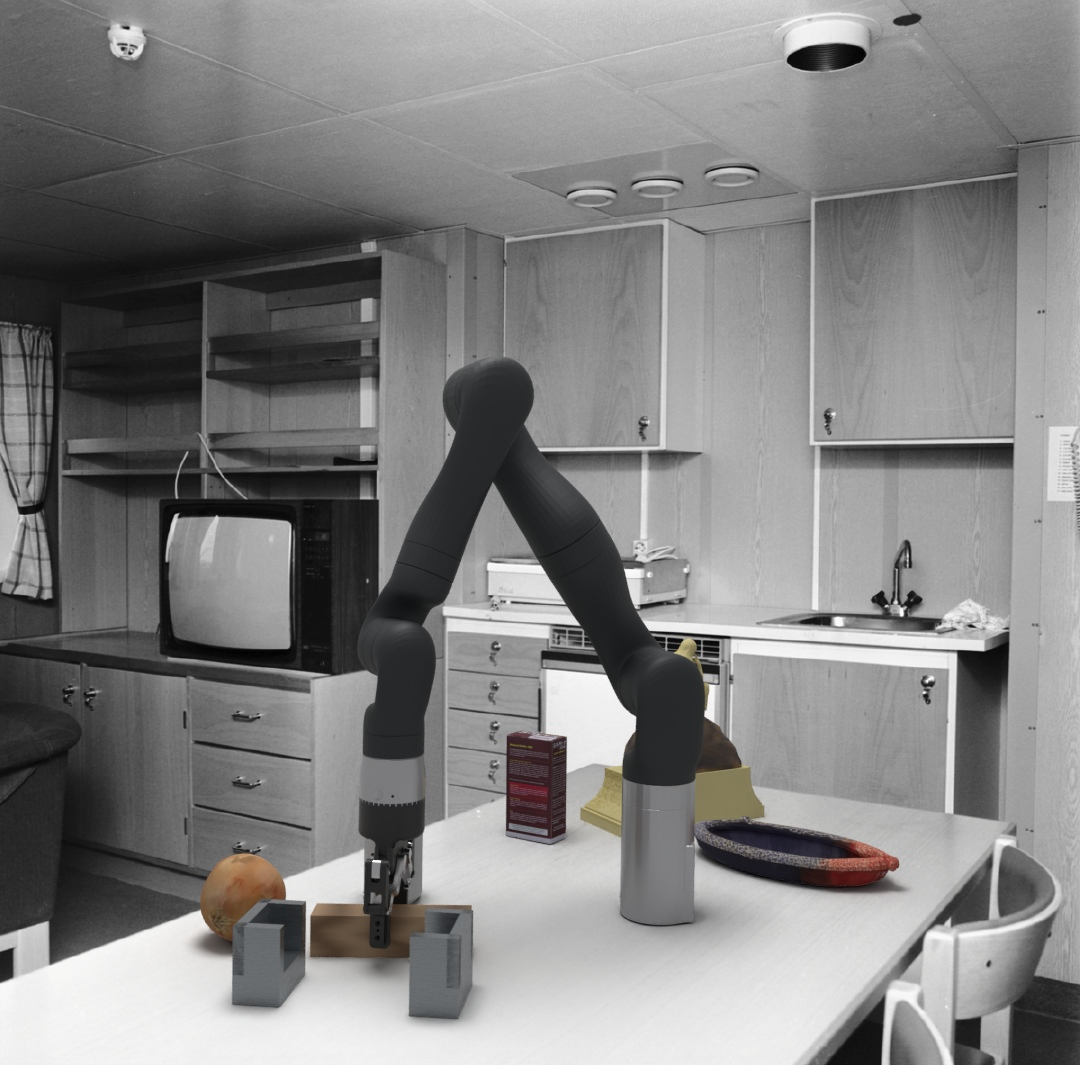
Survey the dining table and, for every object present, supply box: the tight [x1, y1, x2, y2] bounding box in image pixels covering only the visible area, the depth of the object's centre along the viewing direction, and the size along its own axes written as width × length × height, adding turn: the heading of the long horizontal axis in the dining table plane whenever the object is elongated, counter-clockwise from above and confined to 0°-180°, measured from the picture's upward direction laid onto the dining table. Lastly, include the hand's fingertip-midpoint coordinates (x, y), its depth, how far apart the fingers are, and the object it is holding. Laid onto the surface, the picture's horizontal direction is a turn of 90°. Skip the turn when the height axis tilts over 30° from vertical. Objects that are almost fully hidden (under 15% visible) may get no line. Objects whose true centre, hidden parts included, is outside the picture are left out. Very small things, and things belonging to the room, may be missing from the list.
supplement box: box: [505, 730, 568, 845], centre depth 179 cm, size 9×5×16 cm, turn 58°
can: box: [363, 833, 424, 904], centre depth 150 cm, size 8×8×12 cm
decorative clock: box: [579, 638, 765, 838], centre depth 191 cm, size 28×13×30 cm, turn 120°
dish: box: [694, 816, 900, 888], centre depth 165 cm, size 16×31×5 cm, turn 51°
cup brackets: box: [231, 899, 474, 1020], centre depth 121 cm, size 23×8×8 cm, turn 84°
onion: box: [199, 853, 287, 942], centre depth 136 cm, size 10×10×10 cm
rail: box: [309, 902, 473, 959], centre depth 133 cm, size 18×4×5 cm, turn 91°
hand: (389, 933), depth 133 cm, fingers open, 8 cm apart
